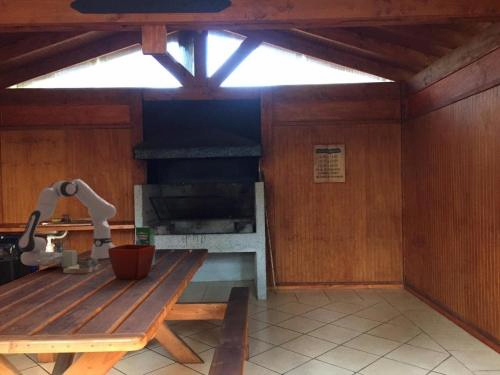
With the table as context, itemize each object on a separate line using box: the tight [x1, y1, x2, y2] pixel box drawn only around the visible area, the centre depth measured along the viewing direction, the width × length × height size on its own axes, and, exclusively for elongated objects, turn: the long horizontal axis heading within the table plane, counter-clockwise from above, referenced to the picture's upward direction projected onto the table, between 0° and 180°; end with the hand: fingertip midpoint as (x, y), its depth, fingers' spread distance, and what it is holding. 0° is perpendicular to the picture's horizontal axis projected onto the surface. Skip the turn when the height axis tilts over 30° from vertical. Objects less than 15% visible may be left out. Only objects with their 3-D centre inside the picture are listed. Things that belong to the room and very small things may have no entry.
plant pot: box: [108, 244, 156, 281], centre depth 229 cm, size 19×19×17 cm
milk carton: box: [135, 225, 156, 267], centre depth 264 cm, size 9×9×25 cm
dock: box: [63, 257, 102, 274], centre depth 250 cm, size 16×15×6 cm
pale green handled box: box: [61, 243, 78, 270], centre depth 257 cm, size 5×7×15 cm
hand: (66, 259), depth 257 cm, fingers open, 8 cm apart
